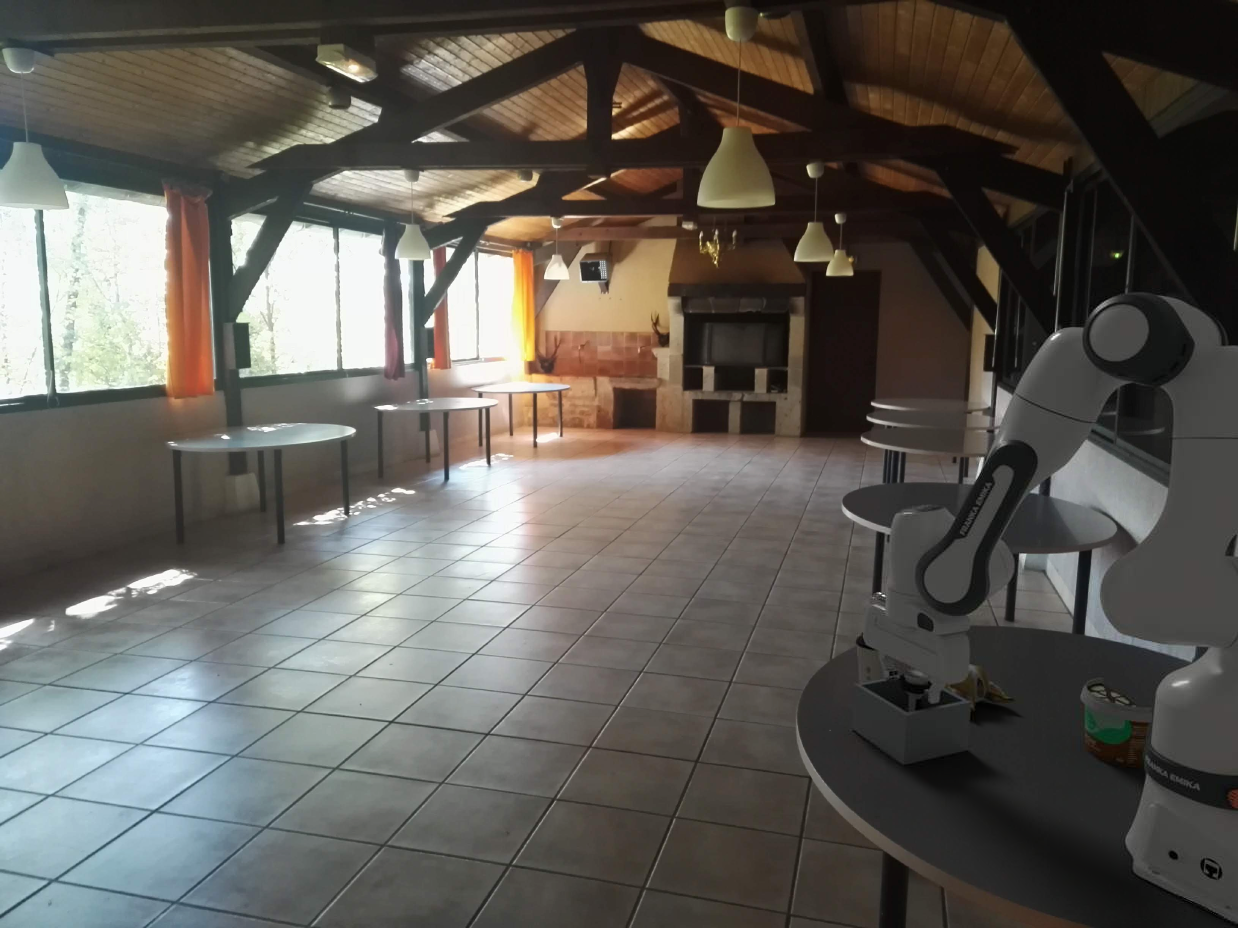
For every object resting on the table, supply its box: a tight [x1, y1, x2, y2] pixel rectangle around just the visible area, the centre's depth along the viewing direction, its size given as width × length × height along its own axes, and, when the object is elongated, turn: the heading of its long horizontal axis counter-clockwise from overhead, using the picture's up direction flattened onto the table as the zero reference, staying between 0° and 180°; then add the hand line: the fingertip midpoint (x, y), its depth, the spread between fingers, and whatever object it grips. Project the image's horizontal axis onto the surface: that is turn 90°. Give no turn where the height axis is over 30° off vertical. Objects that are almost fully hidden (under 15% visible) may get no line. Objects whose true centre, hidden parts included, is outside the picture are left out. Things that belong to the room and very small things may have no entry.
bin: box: [851, 675, 971, 766], centre depth 140 cm, size 13×13×8 cm
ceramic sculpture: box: [929, 661, 1016, 712], centre depth 156 cm, size 11×9×15 cm
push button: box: [899, 668, 932, 712], centre depth 140 cm, size 7×5×10 cm
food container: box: [1080, 677, 1153, 769], centre depth 136 cm, size 12×6×10 cm, turn 5°
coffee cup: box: [855, 631, 884, 683], centre depth 161 cm, size 7×7×10 cm
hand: (910, 690), depth 139 cm, fingers open, 8 cm apart
